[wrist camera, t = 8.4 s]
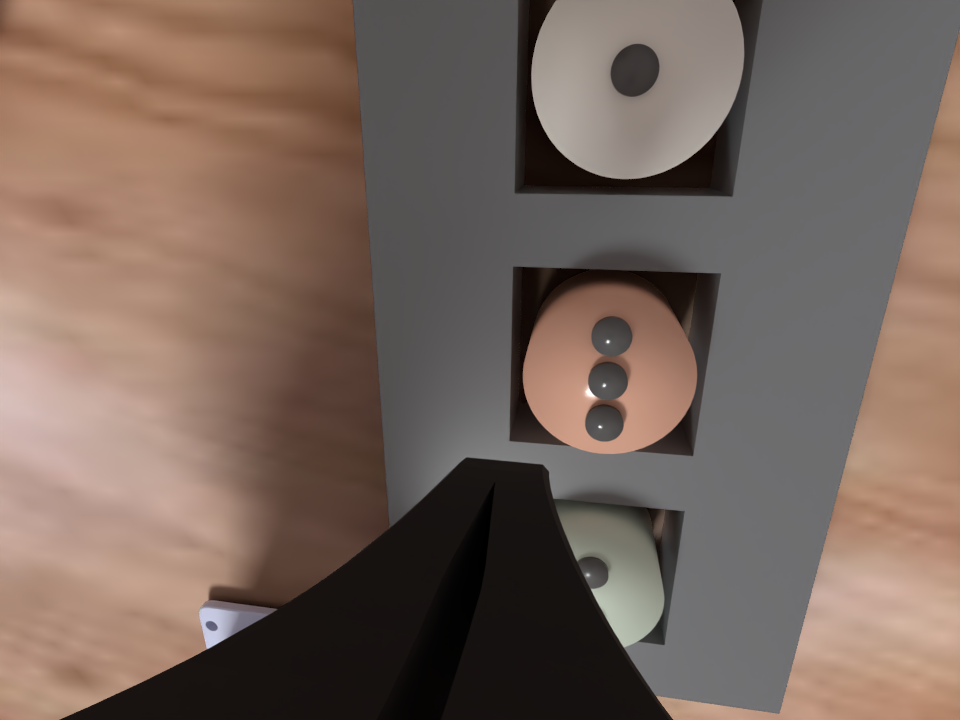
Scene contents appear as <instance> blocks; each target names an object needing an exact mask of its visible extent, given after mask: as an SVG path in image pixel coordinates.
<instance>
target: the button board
mask: <svg viewBox="0 0 960 720" xmlns="http://www.w3.org/2000/svg"><path fill="white" fill-rule="evenodd" d="M735 7H736V9H737V12H738V15H739V18H740V22H741V26H742V32H743V37H744V63H743V72H742V77H741V81H740V86H739V89H738V92H737V95H736V98H735V100H734V102H733V104H732V107H731V109H730V111H729V113H728V115H727V116H726V118H725V120H724V121H723V123H722V124H721V126H720V127H719V129H718V131H717V138H716V146H715V153H714V160H713V168H712V175H711V182H710V188H676V187H590V186H525V152H526V114H527V76H528V37H529V0H353V12H354V26H355V40H356V55H357V69H358V84H359V98H360V112H361V127H362V141H363V155H364V170H365V184H366V199H367V213H368V227H369V242H370V256H371V271H372V285H373V299H374V314H375V328H376V343H377V357H378V371H379V386H380V400H381V414H382V429H383V443H384V458H385V472H386V486H387V501H388V515H389V528H390V527H391V526H393V525H394V524H395V523H396V522H397V521H398V520H399V519H400V518H402V517H403V516H404V515H405V514H406V513H407V512H408V511H409V510H410V509H412V508H413V507H414V506H415V505H416V504H417V503H418V502H419V501H420V500H422V499H423V498H424V497H425V496H426V495H427V494H428V493H429V492H430V491H431V490H432V489H433V488H434V487H435V486H436V485H437V484H438V483H439V482H440V481H441V480H442V479H443V478H444V477H445V476H446V475H447V474H448V473H449V472H450V471H451V470H452V469H453V468H454V467H456V466H457V465H458V464H459V463H460V462H461V461H462V460H463V459H465V458H466V457H470V458H480V459H491V460H501V461H512V462H522V463H533V464H543V465H544V466H545V467H546V469H547V470H548V471H549V480H550V486H551V491H552V495H553V499H564V500H574V501H584V502H595V503H605V504H615V505H626V506H636V507H647V508H657V509H665V516H664V523H663V530H662V538H661V545H660V552H659V560H658V562H659V567H660V573H661V578H662V584H663V590H664V607H663V612H662V615H661V617H660V619H659V621H658V623H657V624H656V626H655V627H654V628H653V629H652V630H651V632H650V633H648V634H647V635H646V636H645V637H644V638H642V639H641V640H639V641H637V642H636V643H633V644H631V645H629V646H626V647H624V649H625V650H626V652H627V653H628V655H629V657H630V658H631V660H632V661H633V663H634V664H635V666H636V667H637V669H638V670H639V672H640V673H641V675H642V676H643V678H644V679H645V681H646V682H647V684H648V685H649V687H650V688H651V690H652V691H653V693H654V694H655V696H661V697H668V698H675V699H682V700H689V701H695V702H702V703H709V704H716V705H723V706H730V707H736V708H743V709H750V710H757V711H764V712H771V713H778V714H779V713H780V710H781V706H782V702H783V698H784V694H785V691H786V687H787V683H788V679H789V675H790V672H791V668H792V664H793V660H794V656H795V653H796V649H797V645H798V641H799V637H800V634H801V630H802V626H803V622H804V618H805V615H806V611H807V607H808V603H809V599H810V596H811V592H812V588H813V584H814V580H815V577H816V573H817V569H818V565H819V561H820V558H821V554H822V550H823V546H824V542H825V539H826V535H827V531H828V527H829V523H830V520H831V516H832V512H833V508H834V504H835V501H836V497H837V493H838V489H839V485H840V482H841V478H842V474H843V470H844V466H845V463H846V459H847V455H848V451H849V447H850V444H851V440H852V436H853V432H854V428H855V425H856V421H857V417H858V413H859V409H860V406H861V402H862V398H863V394H864V390H865V387H866V383H867V379H868V375H869V371H870V368H871V364H872V360H873V356H874V352H875V349H876V345H877V341H878V337H879V333H880V330H881V326H882V322H883V318H884V314H885V311H886V307H887V303H888V299H889V295H890V292H891V288H892V284H893V280H894V276H895V273H896V269H897V265H898V261H899V257H900V254H901V250H902V246H903V242H904V238H905V235H906V231H907V227H908V223H909V219H910V216H911V212H912V208H913V204H914V200H915V197H916V193H917V189H918V185H919V181H920V178H921V174H922V170H923V166H924V162H925V159H926V155H927V151H928V147H929V143H930V140H931V136H932V132H933V128H934V124H935V121H936V117H937V113H938V109H939V105H940V102H941V98H942V94H943V90H944V86H945V83H946V79H947V75H948V71H949V67H950V64H951V60H952V56H953V52H954V48H955V45H956V41H957V37H958V33H959V29H960V0H736V1H735ZM522 267H545V268H574V269H604V270H633V271H663V272H692V273H698V276H697V284H696V291H695V298H694V305H693V313H692V320H691V327H690V334H689V342H690V345H691V347H692V350H693V352H694V356H695V360H696V365H697V384H696V389H695V394H694V397H693V400H692V402H691V405H690V407H689V409H688V410H687V412H686V414H685V416H684V417H683V418H682V420H681V421H680V422H679V423H678V424H677V426H676V427H675V428H674V429H673V430H672V431H670V432H669V433H668V434H667V435H665V436H664V437H663V438H661V439H660V440H658V441H656V442H655V443H653V444H651V445H648V446H646V447H644V448H641V449H638V450H635V451H631V452H626V453H618V454H599V453H592V452H588V451H584V450H580V449H577V448H575V447H572V446H570V445H568V444H566V443H564V442H562V441H560V440H559V439H558V438H556V437H555V436H553V435H552V434H551V433H550V432H549V431H547V430H546V429H545V428H544V427H543V426H542V424H541V423H540V422H539V421H538V420H537V418H536V417H535V415H534V414H533V412H532V410H531V408H530V406H529V404H528V403H520V402H519V381H520V343H521V305H522Z"/></svg>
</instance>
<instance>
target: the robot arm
mask: <svg viewBox="0 0 960 720" xmlns="http://www.w3.org/2000/svg"><path fill="white" fill-rule="evenodd" d="M199 616H200V621H201V625H202V629H203V634H204V638H205V642H206V647H207V650H205V651H203V652H201V653H200V654H198V655H196V656H194V657H192V658H190V659H188V660H186V661H184V662H182V663H180V664H178V665H176V666H174V667H172V668H170V669H168V670H166V671H164V672H162V673H160V674H158V675H156V676H154V677H152V678H150V679H148V680H146V681H144V682H142V683H140V684H137V685H135V686H133V687H131V688H129V689H127V690H124V691H122V692H120V693H118V694H116V695H114V696H111V697H109V698H107V699H105V700H103V701H101V702H99V703H96V704H94V705H92V706H90V707H88V708H85V709H83V710H81V711H78V712H76V713H74V714H72V715H69V716H67V717H65V718H62V719H60V720H673V719H672V718H671V716H670V715H669V714H668V712H667V711H666V710H665V708H664V707H663V706H662V704H661V703H660V702H659V700H658V699H657V697H656V696H655V694H654V693H653V691H652V690H651V688H650V687H649V685H648V684H647V682H646V681H645V679H644V678H643V676H642V675H641V673H640V672H639V670H638V669H637V667H636V666H635V664H634V663H633V661H632V660H631V658H630V657H629V655H628V653H627V652H626V650H625V649H624V647H623V645H622V644H621V642H620V641H619V639H618V637H617V636H616V634H615V632H614V631H613V629H612V627H611V626H610V624H609V622H608V620H607V619H606V617H605V615H604V613H603V612H602V610H601V608H600V606H599V604H598V602H597V601H596V599H595V597H594V595H593V593H592V591H591V589H590V587H589V585H588V583H587V581H586V579H585V577H584V575H583V573H582V571H581V569H580V567H579V564H578V562H577V560H576V558H575V556H574V553H573V551H572V548H571V546H570V544H569V541H568V539H567V536H566V534H565V531H564V529H563V527H562V524H561V521H560V518H559V515H558V512H557V509H556V506H555V503H554V499H553V495H552V491H551V486H550V480H549V471H548V470H547V469H546V467H545V466H544V465H543V464H533V463H522V462H512V461H501V460H491V459H480V458H470V457H466V458H465V459H463V460H462V461H461V462H460V463H459V464H458V465H457V466H456V467H454V468H453V469H452V470H451V471H450V472H449V473H448V474H447V475H446V476H445V477H444V478H443V479H442V480H441V481H440V482H439V483H438V484H437V485H436V486H435V487H434V488H433V489H432V490H431V491H430V492H429V493H428V494H427V495H426V496H425V497H424V498H423V499H422V500H420V501H419V502H418V503H417V504H416V505H415V506H414V507H413V508H412V509H410V510H409V511H408V512H407V513H406V514H405V515H404V516H403V517H402V518H400V519H399V520H398V521H397V522H396V523H395V524H394V525H393V526H391V527H390V528H389V529H388V530H387V531H386V532H384V533H383V534H382V535H381V536H379V537H378V538H377V539H376V540H374V541H373V542H372V543H371V544H369V545H368V546H367V547H366V548H364V549H363V550H362V551H361V552H359V553H358V554H357V555H356V556H354V557H353V558H352V559H351V560H349V561H348V562H347V563H346V564H344V565H343V566H342V567H340V568H339V569H337V570H336V571H335V572H333V573H332V574H331V575H329V576H328V577H326V578H325V579H324V580H322V581H321V582H319V583H318V584H316V585H315V586H313V587H312V588H310V589H309V590H307V591H305V592H304V593H302V594H301V595H299V596H298V597H296V598H295V599H293V600H292V601H290V602H289V603H287V604H285V605H284V606H282V607H281V608H279V609H274V608H266V607H259V606H252V605H244V604H237V603H230V602H223V601H215V600H208V601H206V602H205V603H204V604H203V605H202V607H201V608H200V610H199Z"/></svg>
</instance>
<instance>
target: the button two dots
mask: <svg viewBox="0 0 960 720" xmlns="http://www.w3.org/2000/svg"><path fill="white" fill-rule="evenodd" d="M554 503H555V506H556V509H557V512H558V515H559V518H560V521H561V524H562V527H563V529H564V531H565V534H566V536H567V539H568V541H569V544H570V546H571V548H572V551H573V553H574V556H575V558H576V560H577V562H578V564H579V567H580V569H581V571H582V573H583V575H584V577H585V579H586V581H587V583H588V585H589V587H590V589H591V591H592V593H593V595H594V597H595V599H596V601H597V602H598V604H599V606H600V608H601V610H602V612H603V613H604V615H605V617H606V619H607V620H608V622H609V624H610V626H611V627H612V629H613V631H614V632H615V634H616V636H617V637H618V639H619V641H620V642H621V644H622V645H623V647H626V646H629V645H631V644H633V643H636V642H637V641H639V640H641V639H642V638H644V637H645V636H646V635H647V634H648V633H650V632H651V630H652V629H653V628H654V627H655V626H656V624H657V623H658V621H659V619H660V617H661V615H662V612H663V607H664V590H663V584H662V578H661V573H660V567H659V562H658V556H657V550H656V545H655V539H654V533H653V528H652V522H651V518H650V515H649V512H648V510H647V508H646V507H636V506H626V505H615V504H605V503H595V502H584V501H574V500H564V499H554Z"/></svg>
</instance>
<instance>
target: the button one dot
mask: <svg viewBox="0 0 960 720" xmlns="http://www.w3.org/2000/svg"><path fill="white" fill-rule="evenodd" d="M743 63H744V37H743V32H742V26H741V22H740V18H739V15H738V12H737V9H736V7H735V5H734V3H733V1H732V0H556V1H555V3H554V5H553V6H552V8H551V9H550V11H549V13H548V14H547V16H546V18H545V21H544V23H543V25H542V27H541V29H540V32H539V35H538V38H537V41H536V45H535V49H534V54H533V60H532V71H531V80H532V93H533V99H534V104H535V108H536V111H537V115H538V117H539V120H540V122H541V124H542V127H543V129H544V130H545V132H546V134H547V135H548V137H549V139H550V140H551V141H552V143H553V144H554V145H555V146H556V148H557V149H558V150H559V151H560V152H561V153H562V154H563V155H564V156H565V157H566V158H568V159H569V160H570V161H572V162H573V163H574V164H576V165H577V166H579V167H581V168H583V169H585V170H587V171H589V172H591V173H594V174H597V175H600V176H604V177H609V178H616V179H637V178H643V177H648V176H653V175H656V174H659V173H662V172H665V171H667V170H669V169H671V168H673V167H675V166H677V165H679V164H680V163H682V162H684V161H685V160H687V159H689V158H690V157H691V156H692V155H694V154H695V153H696V152H697V151H699V150H700V149H701V148H702V147H703V146H704V145H705V144H706V143H707V142H708V141H709V140H710V139H711V138H712V136H713V135H714V134H715V133H716V131H717V130H718V129H719V127H720V126H721V124H722V123H723V121H724V120H725V118H726V116H727V115H728V113H729V111H730V109H731V107H732V104H733V102H734V100H735V98H736V95H737V92H738V89H739V86H740V81H741V77H742V72H743Z"/></svg>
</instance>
